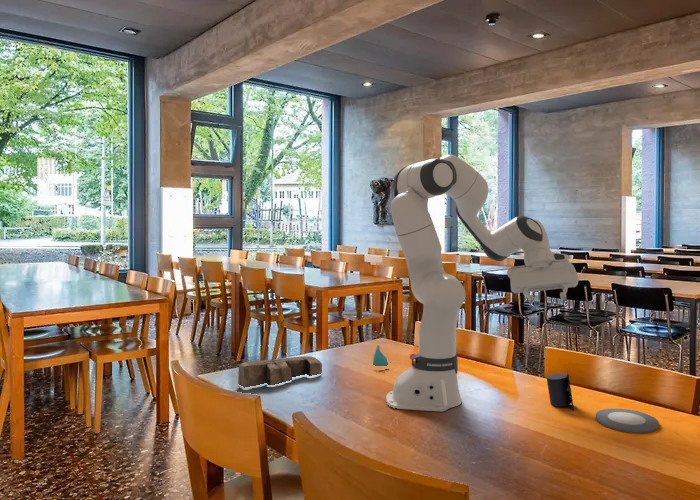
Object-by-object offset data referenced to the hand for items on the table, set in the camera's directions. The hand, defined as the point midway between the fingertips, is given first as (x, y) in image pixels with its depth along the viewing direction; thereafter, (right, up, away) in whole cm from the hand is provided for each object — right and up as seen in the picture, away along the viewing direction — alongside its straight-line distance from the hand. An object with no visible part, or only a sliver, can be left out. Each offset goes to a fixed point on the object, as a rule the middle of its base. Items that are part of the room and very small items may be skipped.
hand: (547, 300), depth 171 cm
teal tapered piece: (-47, -28, +38) cm, 66 cm away
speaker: (0, -30, -9) cm, 31 cm away
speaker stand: (+13, -30, -23) cm, 40 cm away
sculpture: (-84, -30, +19) cm, 91 cm away
